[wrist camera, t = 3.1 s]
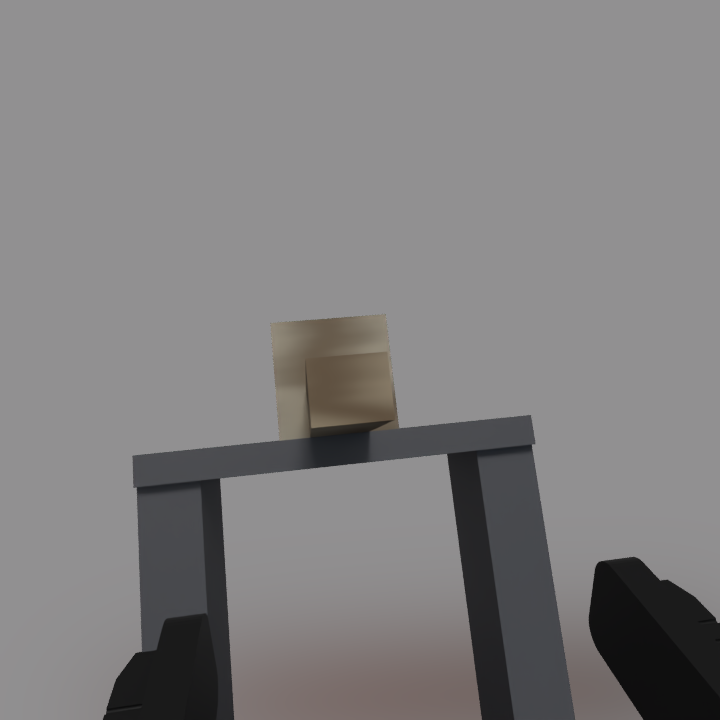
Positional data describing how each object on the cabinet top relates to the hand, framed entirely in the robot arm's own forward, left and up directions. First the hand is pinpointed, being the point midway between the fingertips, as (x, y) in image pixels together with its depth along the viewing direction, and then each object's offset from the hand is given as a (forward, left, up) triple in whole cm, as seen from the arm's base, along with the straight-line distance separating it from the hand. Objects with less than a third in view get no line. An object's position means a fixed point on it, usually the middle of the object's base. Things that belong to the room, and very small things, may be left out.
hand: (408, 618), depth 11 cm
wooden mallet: (0, -15, +4) cm, 15 cm away
